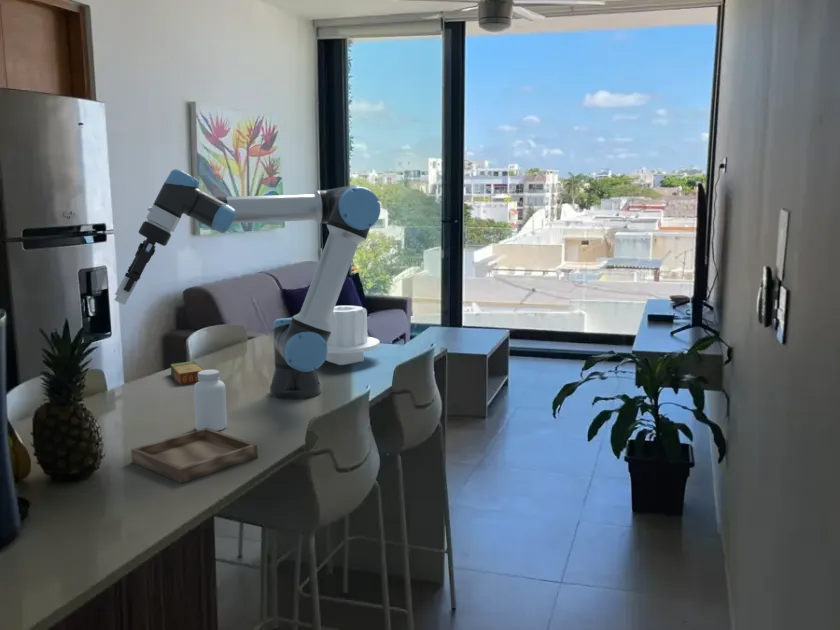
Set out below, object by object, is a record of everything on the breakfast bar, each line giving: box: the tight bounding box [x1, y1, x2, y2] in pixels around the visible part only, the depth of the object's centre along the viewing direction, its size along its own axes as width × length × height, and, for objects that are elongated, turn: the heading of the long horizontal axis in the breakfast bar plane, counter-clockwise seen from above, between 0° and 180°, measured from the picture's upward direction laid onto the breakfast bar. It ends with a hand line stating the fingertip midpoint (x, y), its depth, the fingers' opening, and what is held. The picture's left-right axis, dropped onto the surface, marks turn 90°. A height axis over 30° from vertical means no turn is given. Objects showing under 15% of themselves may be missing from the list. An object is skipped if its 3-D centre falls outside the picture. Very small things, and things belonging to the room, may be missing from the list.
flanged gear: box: [325, 305, 381, 366], centre depth 270 cm, size 25×25×19 cm
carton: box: [170, 360, 205, 386], centre depth 249 cm, size 8×16×4 cm, turn 28°
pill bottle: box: [193, 369, 228, 432], centre depth 196 cm, size 8×8×15 cm
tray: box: [130, 428, 259, 484], centre depth 174 cm, size 20×20×3 cm
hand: (119, 299), depth 195 cm, fingers open, 13 cm apart
